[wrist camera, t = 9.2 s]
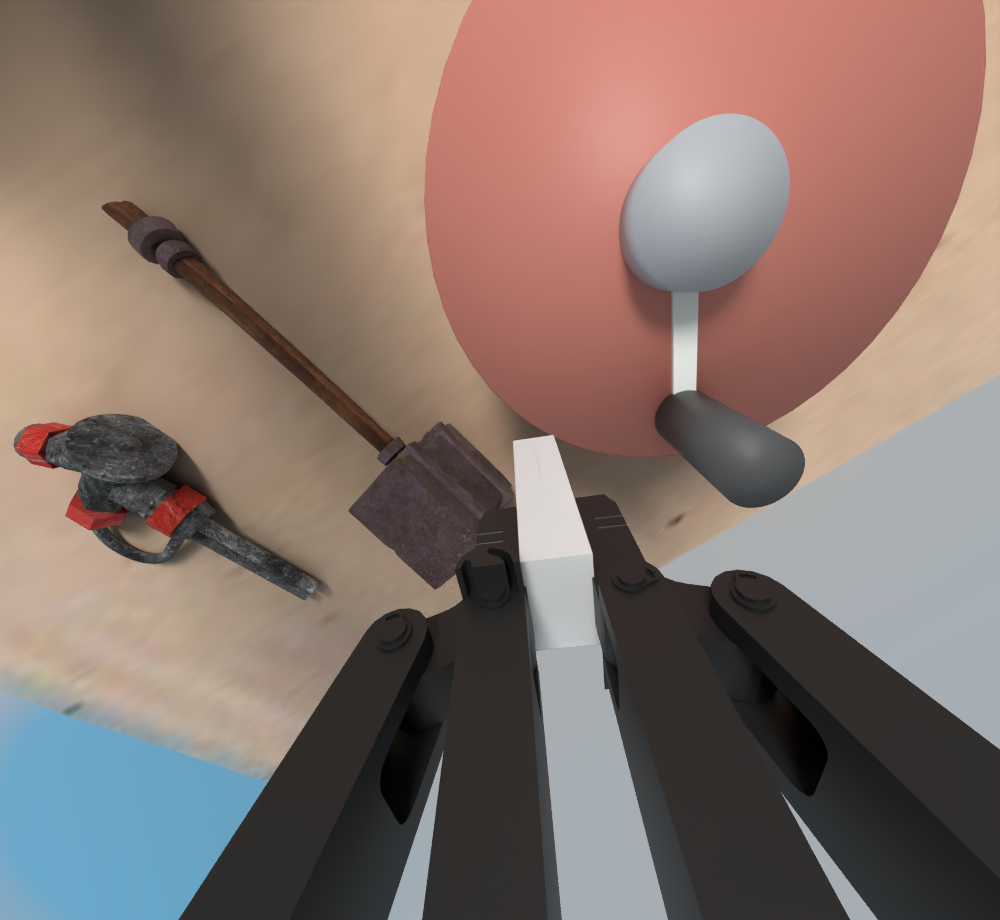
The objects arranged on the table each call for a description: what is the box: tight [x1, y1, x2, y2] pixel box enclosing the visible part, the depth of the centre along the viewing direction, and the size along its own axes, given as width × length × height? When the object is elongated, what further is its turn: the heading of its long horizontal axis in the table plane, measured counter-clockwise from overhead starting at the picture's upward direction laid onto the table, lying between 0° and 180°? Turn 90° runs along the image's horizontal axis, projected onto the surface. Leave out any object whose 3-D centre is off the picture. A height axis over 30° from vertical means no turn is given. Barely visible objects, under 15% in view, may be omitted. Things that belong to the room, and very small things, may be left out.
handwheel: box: [424, 0, 986, 508], centre depth 13 cm, size 20×20×10 cm
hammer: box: [102, 201, 514, 589], centre depth 27 cm, size 7×33×10 cm, turn 47°
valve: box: [14, 414, 321, 600], centre depth 35 cm, size 6×26×15 cm
